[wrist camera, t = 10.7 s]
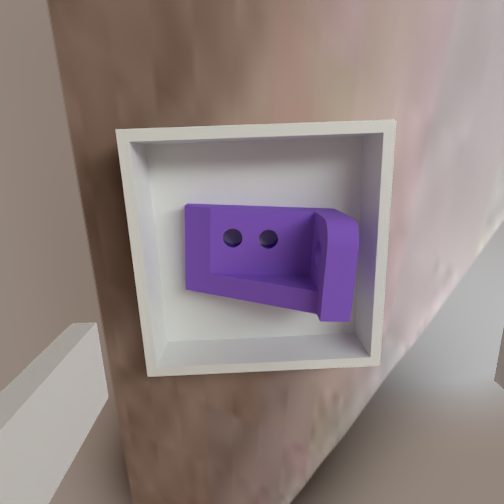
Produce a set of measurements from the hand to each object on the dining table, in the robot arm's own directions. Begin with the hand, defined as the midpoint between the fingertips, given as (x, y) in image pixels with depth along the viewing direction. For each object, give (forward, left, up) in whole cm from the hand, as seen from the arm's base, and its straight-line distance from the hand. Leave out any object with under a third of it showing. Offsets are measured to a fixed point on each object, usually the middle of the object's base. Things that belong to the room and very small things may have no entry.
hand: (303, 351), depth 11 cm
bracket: (+1, -1, -19) cm, 18 cm away
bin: (+1, -1, -19) cm, 19 cm away
